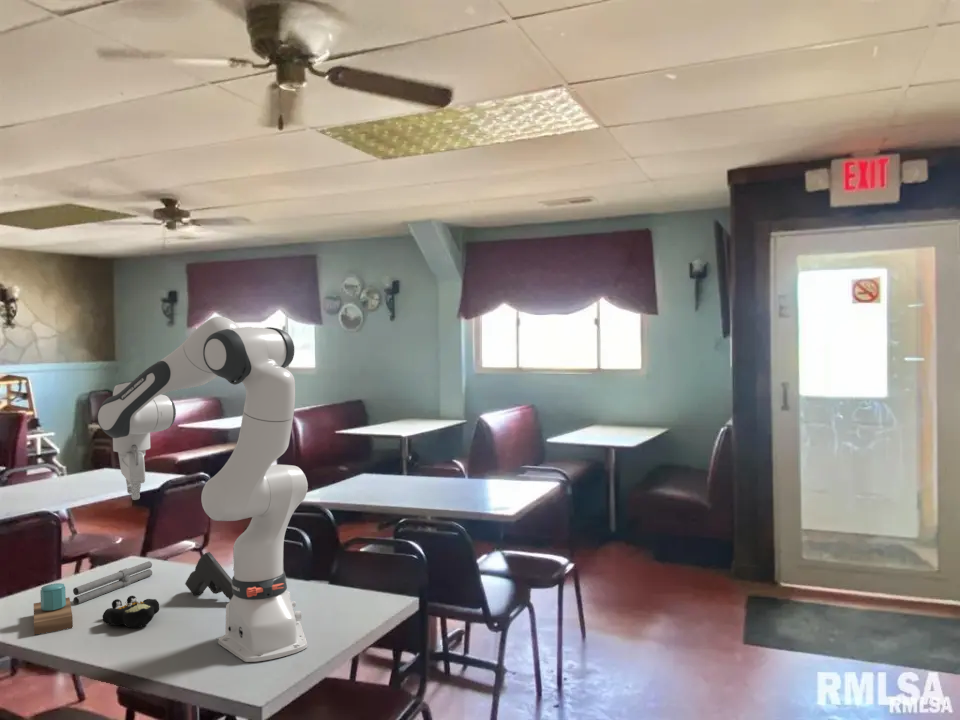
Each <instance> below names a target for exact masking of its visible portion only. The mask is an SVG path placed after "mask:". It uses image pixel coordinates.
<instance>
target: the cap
mask: <svg viewBox="0 0 960 720" xmlns="http://www.w3.org/2000/svg"><path fill="white" fill-rule="evenodd" d="M66 598H67V596H66V586H65V584H64V583H60V582H59V583H56V582H55V583H51V584H47V585H44V586H42V587H41V589H40V602H41V609H42V610H44V611H47V610H55V609H59V608H62V607H64V606H65V605H66Z"/></svg>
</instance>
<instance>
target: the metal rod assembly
mask: <svg viewBox="0 0 960 720" xmlns="http://www.w3.org/2000/svg"><path fill="white" fill-rule="evenodd" d="M152 566H153V563H152V562H151V561H150V560H148V561H145V562H144V563H141V564H138V565H135V566H132V567H128V568H124V569H121V570H118V571H117V572H114V573H112V574H110V575H107V576H104V577H101V578H98V579H95V580H93V581H90V582H87V583H84V584H81V585H79V586H77V587H73V590H72V592H73V595H75V597H74V598H73V603H74V604H75V605H77V603H78V605H79V604H82V603H85V602H87V600H88V601H90V600H92V599H95V598H97V597H100V596H102V595H106V594H108V593H110V592H113V591H116V590H118V589H121V588H125V586H126V587H128V586H129V585H131V584H133V583H136V582H139V581H141V580H143V579H145V578H146V579H147V578H148V577H151V576H152V575H153V570H152V569H151V568H152ZM138 580H139V581H138ZM105 593H106V594H105Z"/></svg>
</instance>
